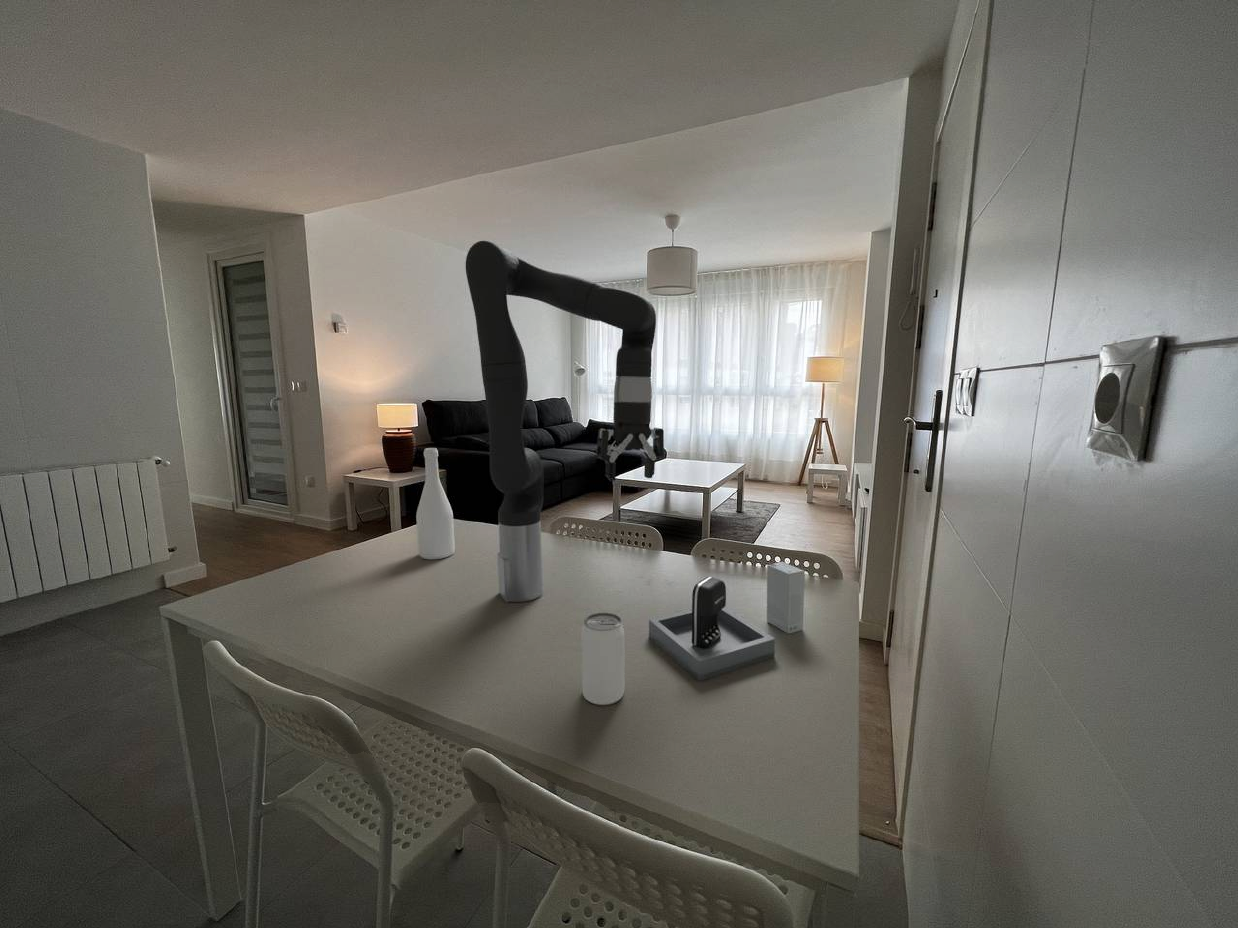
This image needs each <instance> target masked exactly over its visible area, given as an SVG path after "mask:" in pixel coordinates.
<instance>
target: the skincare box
mask: <svg viewBox="0 0 1238 928" xmlns="http://www.w3.org/2000/svg"><path fill="white" fill-rule="evenodd" d="M766 570H767V571H766V574H767V575H766V578H767V579H766V622H767V623H769V624H770V625H772V626H774V627H776V628H777V629H779V630H781V631H783V632H784V633H786V634H792V633H797V632H800V631H802V630H803V629H804V605H805V604H804V601H805V599H804V598H805V570H803V569H801V568H799V567H796V566H794V565H791V564H788V563H787V562H784V561H779V562H775V563H770V564H767V566H766Z"/></svg>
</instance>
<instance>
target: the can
mask: <svg viewBox="0 0 1238 928" xmlns="http://www.w3.org/2000/svg"><path fill="white" fill-rule="evenodd" d="M583 622H584V624H583V626H582V628H581V683H582V684H581V686H582V689H581V690H582V695H583V697H584V699H585V700H586V701H587V702H589V703H590V704H592V705H595V706H610V705H613V704H615V703H617V702H619V701H620V700H621V699H622V698H623V696H624V694H625V629H624V626H623V624H622V619H621V617H620V616H618V615H617V614H615V613H611V612H595V613H592V614H589V615H588V616H586V617H585V618H584V620H583Z"/></svg>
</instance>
